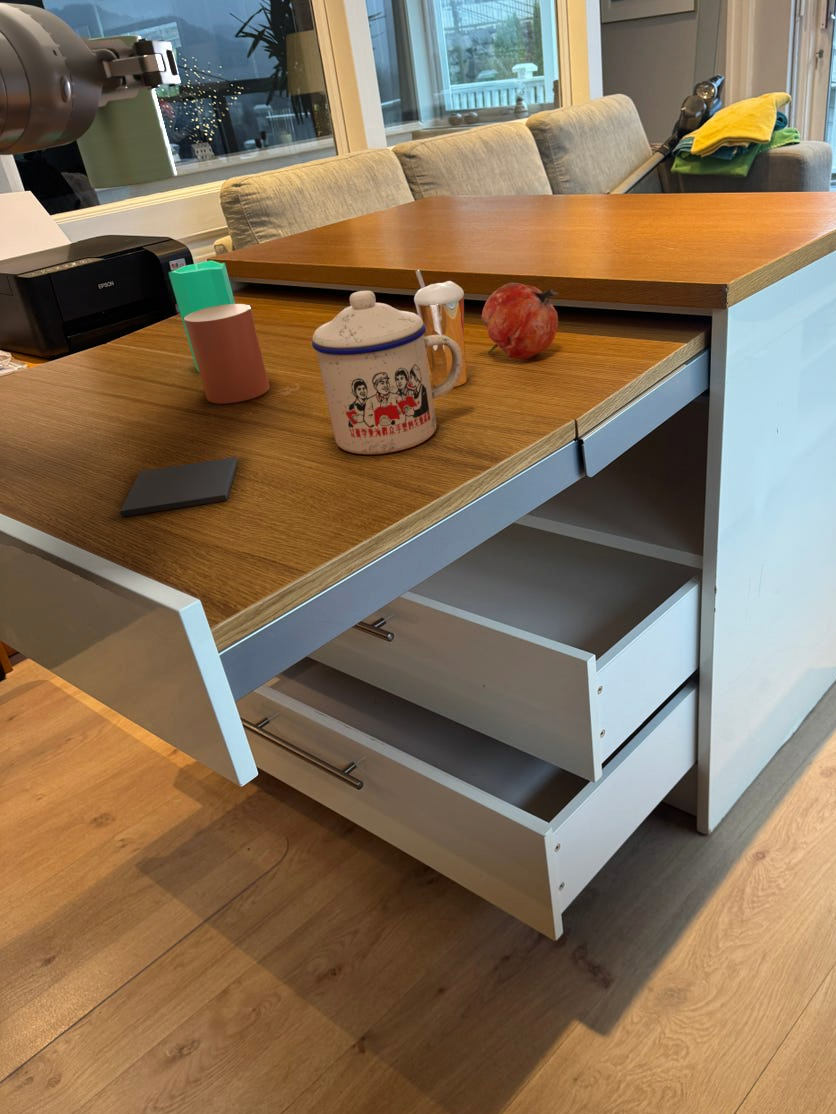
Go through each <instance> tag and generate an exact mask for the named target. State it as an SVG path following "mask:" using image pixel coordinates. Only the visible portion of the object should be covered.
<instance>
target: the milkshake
mask: <svg viewBox="0 0 836 1114" xmlns="http://www.w3.org/2000/svg"><path fill="white" fill-rule="evenodd" d="M415 274H416V278H417V280H418V283H419V286H420V289H418V290H417V292H416V293H415V295H414V297H413V302H414V306H415V308H416V309H415V310H416V313H417V314H416V315H418V316H419V317H420V318H421V319H422V321H423V324H424V325H425V327H426V330H425V332H424V334H423V335H424V337H426V336H431V335H444V336H447V337H449V338H451V339H452V340H454V341H455V342H456V343H457V344H458V346H459V348H460V350H461V353H462V370H461V374H460V377H459V380H458V381H457V383H456V385H455V386H454V388H456V387H461V386H462V385H464V384H466V383H467V363H466V362H467V361H466V343H465V342H466V341H465V296H464V295H465V292H464V290H463V288H462V287H461V286H459V284H457V283H455V282H453V281H451V280H447V281H445V282H437V283H431V284H429V285H427V286H426V285H425V282H424V279H423V276H422V273H421V270H420V269H417V270H415ZM425 349H426V356H427V362H428V367H429V369H430V370H429V371H430V375H431V379H432V384H433V386H434V387H437V386H439V385H440V384H442V383H443V382H444V381H445V380H446V379H447V377H448V375H449V373H450V370H451V366H452V354H451V351H450V349H449V347H448V346H446V345H434V346H430V347H426V348H425Z"/></svg>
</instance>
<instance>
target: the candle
mask: <svg viewBox="0 0 836 1114" xmlns="http://www.w3.org/2000/svg"><path fill="white" fill-rule="evenodd" d="M191 255H192V258H193V262H194V263H192V264H188V265H184V266H181V267H179V268H177V269H175V270H171V271H168V277H169V280H170V283H171V287H172V290H173V294H174V297H175V300H176V304H177V308H178V311H179V315H180V317H181V322H182V324H183V325H182V326H183V328H184V332H185V335H186V338H187V339H186V340H187V342H188V345H189V349H190V352H191V355H192V360H193V363H194V366H195V369H196V370H197V372H198V373H199V369H198V366H197V362H196V359H195V355H194V352H193V348H192V345H191V341H190V338H189V335H188V331H187V328H186V324H185V321H184V318H185V316H187V315H188V314H190V313H193V312H195V311H198V310H201V309H205V308H209V307H214V306H220V305H228V304H236V301H235V298H234V293H233V290H232V286H231V282H230V279H229V274H228V270H227V266H226V263H225V262H219V261H215V260H206V261H202V262H197V261H196V258H195V254H194V251H191Z"/></svg>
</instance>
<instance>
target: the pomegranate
mask: <svg viewBox="0 0 836 1114" xmlns="http://www.w3.org/2000/svg"><path fill="white" fill-rule="evenodd" d="M558 295H559V292H556V291H555V290H553V289H547V291H544V292H542V290H540V289H539V288H538V287H536V286H533V285H532V284H529V285H525V284H522V283H518V282H508V283H506V284H504V285H502V286H499V287H497V288H496V290H494V291H493V292H492V293H491V294H490V296H489V297H488V299H487V300H486V302H485V303H484V306H483V308H482V313H481V320H482V322H483V324H484V325H485V327H486V328H487V334H488V337H489V338H490V339H491V341H493V343H495V344H494V345H493V346H492V347H491V348H490V349H489V350H488V351H487V355H490V354H491V353H492V352H493V351H494V350H495V349H496V348H498V347H499V348H501V350H503V351H504V352H505V353H506V355H507V356H508V357H509V358H512V359H514V360H528V359H530V358H533V357H534V356H536V355H537V354H538V353H540V352H542V351H544V350H546V349H547V348H548V347H549V346H550V345H551V344H552V342H553V341H554V340H555V338H556V335H557V333H558V327H559V316H558V315H559V314H558V311H557V310H556V309H555V307H554V305H552V304H551V303H550V299H549V298H550V297H552V296H553V297H554V296H558Z"/></svg>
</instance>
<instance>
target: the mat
mask: <svg viewBox="0 0 836 1114" xmlns="http://www.w3.org/2000/svg"><path fill="white" fill-rule="evenodd" d="M238 463H239V462H238V458H237V456H232V457H226V458H225V457H224V458H220V459H219V458H218V459H213V460H206V461H199V462H194V463H187V464H181V465H175V466H167V467H160V468H154V469H148V470H141V471H139V473H138V475H137V477H136V479H135V481H134V483H133V484H132V486H131V488H130V490H129V493H128V495H127V496H126V498H125V500H124V502H123V504H122V505H121V508H120V510H119V513H120V516H121V517H122V518H125V517H131V516H137V515H144V514H149V513H157V512H161V511H168V510H169V511H171V510H175V509H181V508H182V509H183V508H187V507H188V508H189V507H195V506H201V505H207V504H213V503H220V502H225V501H226V502H227V500H228V498H229V494H230V490H231V487H232V484H233V480H234V476H235V473H236V469H237V465H238Z"/></svg>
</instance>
